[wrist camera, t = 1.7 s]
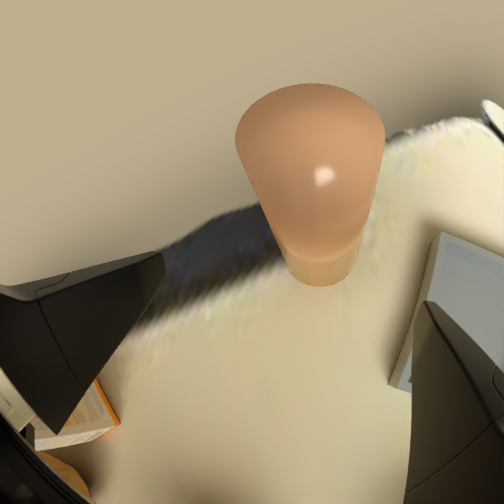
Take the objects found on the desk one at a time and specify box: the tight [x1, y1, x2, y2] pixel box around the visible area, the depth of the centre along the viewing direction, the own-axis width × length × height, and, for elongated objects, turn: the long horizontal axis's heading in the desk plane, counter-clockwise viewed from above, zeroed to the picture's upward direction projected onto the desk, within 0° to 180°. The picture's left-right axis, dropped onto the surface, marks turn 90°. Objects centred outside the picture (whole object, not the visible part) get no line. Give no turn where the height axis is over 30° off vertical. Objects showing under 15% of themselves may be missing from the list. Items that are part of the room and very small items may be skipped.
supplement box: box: [30, 378, 120, 451], centre depth 16 cm, size 8×5×13 cm, turn 37°
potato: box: [37, 451, 91, 499], centre depth 15 cm, size 10×14×8 cm
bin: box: [388, 231, 504, 393], centre depth 15 cm, size 11×11×2 cm
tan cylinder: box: [235, 84, 385, 287], centre depth 16 cm, size 6×6×13 cm
